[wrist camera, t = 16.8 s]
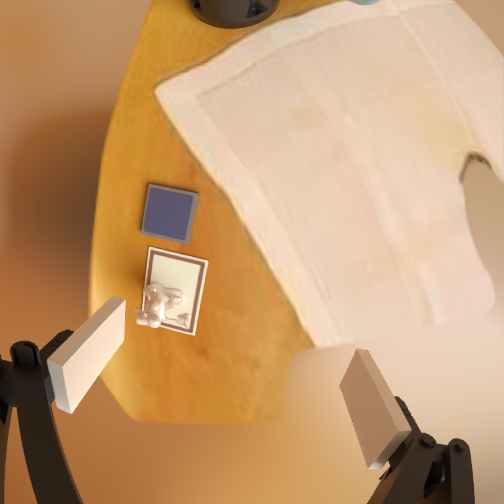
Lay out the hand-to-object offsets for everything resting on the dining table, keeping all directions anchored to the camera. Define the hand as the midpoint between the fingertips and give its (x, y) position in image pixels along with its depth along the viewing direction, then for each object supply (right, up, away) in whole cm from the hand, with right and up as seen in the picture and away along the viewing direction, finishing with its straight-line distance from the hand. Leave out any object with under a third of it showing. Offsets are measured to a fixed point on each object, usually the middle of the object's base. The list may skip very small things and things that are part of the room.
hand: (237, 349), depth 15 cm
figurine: (-13, -2, +33) cm, 36 cm away
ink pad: (-12, +11, +30) cm, 34 cm away
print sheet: (-13, -2, +33) cm, 36 cm away
